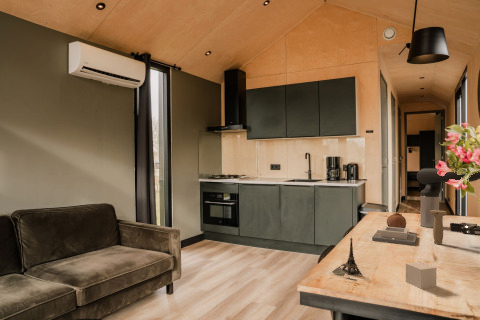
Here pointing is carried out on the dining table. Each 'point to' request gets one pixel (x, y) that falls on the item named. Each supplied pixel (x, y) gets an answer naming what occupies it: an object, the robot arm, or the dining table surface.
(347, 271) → the eiffel tower figurine
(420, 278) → the beige cube
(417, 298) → the dining table surface
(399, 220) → the onion
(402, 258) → the dining table surface
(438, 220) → the handle
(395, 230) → the square socket base
